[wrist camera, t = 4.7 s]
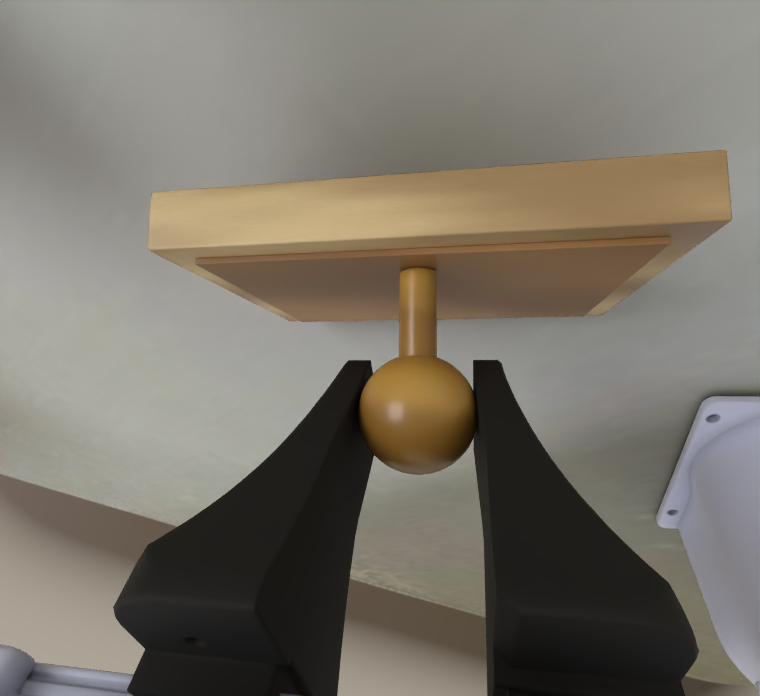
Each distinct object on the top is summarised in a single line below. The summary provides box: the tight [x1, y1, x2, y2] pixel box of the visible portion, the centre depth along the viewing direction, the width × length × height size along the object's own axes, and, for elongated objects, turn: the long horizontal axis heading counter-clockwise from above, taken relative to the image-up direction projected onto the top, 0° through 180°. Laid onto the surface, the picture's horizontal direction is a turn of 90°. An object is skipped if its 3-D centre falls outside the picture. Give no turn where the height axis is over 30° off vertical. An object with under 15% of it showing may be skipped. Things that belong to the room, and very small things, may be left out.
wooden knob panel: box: [147, 150, 732, 475], centre depth 14 cm, size 9×12×6 cm
